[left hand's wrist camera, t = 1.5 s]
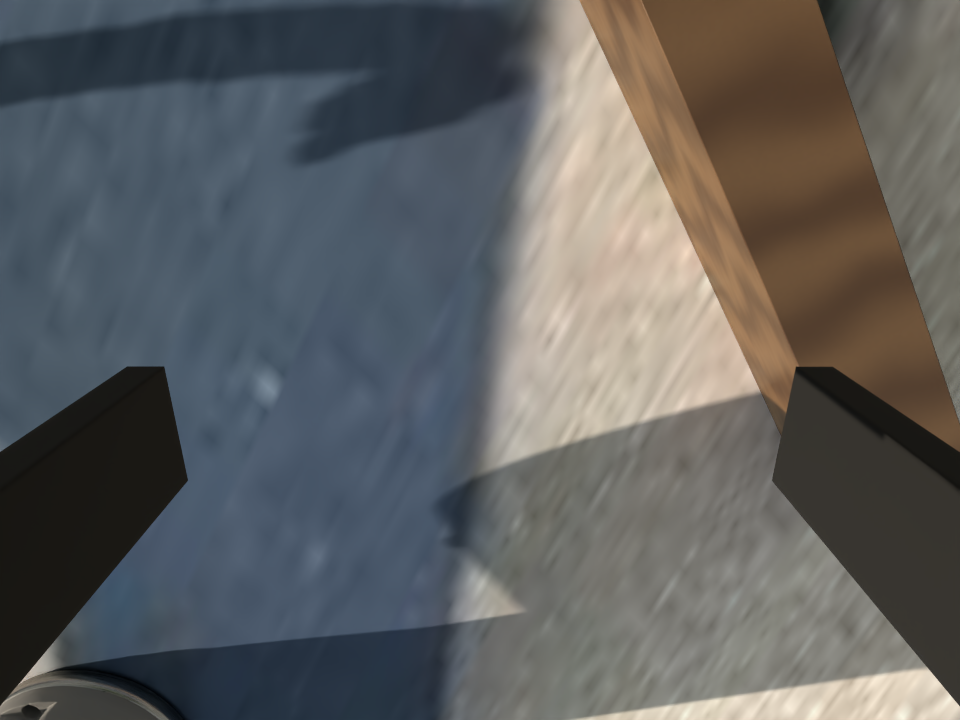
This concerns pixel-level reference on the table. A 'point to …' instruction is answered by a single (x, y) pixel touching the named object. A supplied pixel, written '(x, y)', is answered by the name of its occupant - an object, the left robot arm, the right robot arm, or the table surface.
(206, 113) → the table surface
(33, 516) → the left robot arm
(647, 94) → the beam
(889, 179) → the table surface
